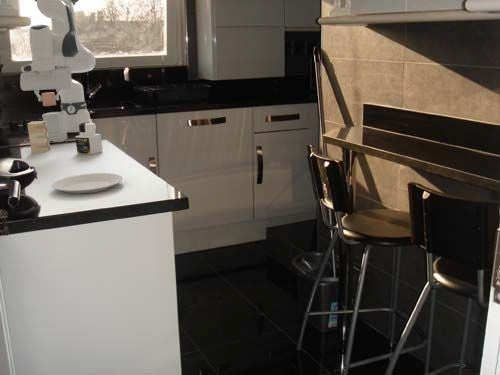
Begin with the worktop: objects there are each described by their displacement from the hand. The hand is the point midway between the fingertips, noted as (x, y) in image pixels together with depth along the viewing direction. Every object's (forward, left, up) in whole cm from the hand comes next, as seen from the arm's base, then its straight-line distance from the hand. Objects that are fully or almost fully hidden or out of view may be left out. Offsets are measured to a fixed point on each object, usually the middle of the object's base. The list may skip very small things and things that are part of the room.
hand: (48, 100), depth 242 cm
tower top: (+4, -5, -12) cm, 14 cm away
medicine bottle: (+15, +17, -20) cm, 30 cm away
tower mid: (+4, -5, -16) cm, 17 cm away
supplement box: (-19, -4, -20) cm, 28 cm away
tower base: (+4, -5, -20) cm, 21 cm away
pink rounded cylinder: (0, 0, -2) cm, 2 cm away
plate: (+72, +27, -20) cm, 79 cm away
